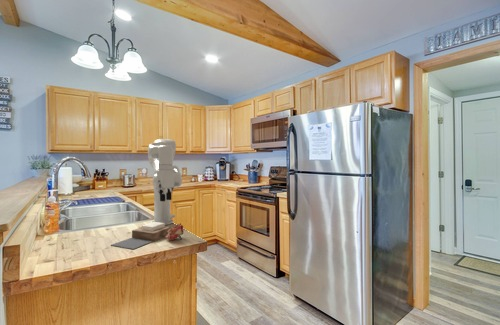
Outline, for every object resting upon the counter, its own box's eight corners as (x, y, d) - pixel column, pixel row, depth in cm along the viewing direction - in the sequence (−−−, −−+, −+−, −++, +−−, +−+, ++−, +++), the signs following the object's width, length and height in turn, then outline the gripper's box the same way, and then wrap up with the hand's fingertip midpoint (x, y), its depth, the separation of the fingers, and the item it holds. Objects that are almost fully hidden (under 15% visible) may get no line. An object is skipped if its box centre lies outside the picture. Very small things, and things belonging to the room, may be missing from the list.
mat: (131, 238, 130) (131, 237, 130) (152, 241, 125) (152, 241, 125) (110, 245, 119) (110, 244, 119) (133, 249, 114) (133, 248, 114)
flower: (187, 232, 134) (178, 220, 134) (189, 233, 126) (179, 221, 125) (172, 245, 130) (162, 233, 130) (173, 247, 122) (162, 234, 121)
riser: (150, 231, 142) (150, 224, 142) (171, 234, 137) (171, 226, 137) (132, 238, 130) (131, 230, 130) (153, 241, 125) (153, 233, 125)
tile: (154, 225, 140) (154, 221, 140) (164, 226, 137) (164, 223, 137) (141, 229, 132) (141, 225, 132) (152, 231, 129) (152, 227, 129)
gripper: (170, 167, 152) (170, 198, 152) (149, 168, 137) (149, 202, 137) (180, 167, 149) (180, 198, 149) (160, 168, 134) (160, 203, 134)
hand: (165, 200), depth 143 cm, fingers open, 4 cm apart
